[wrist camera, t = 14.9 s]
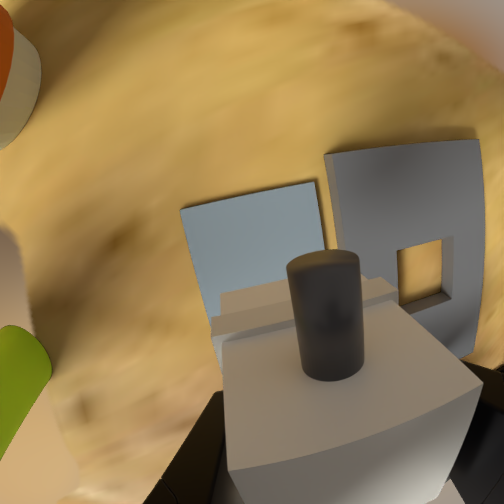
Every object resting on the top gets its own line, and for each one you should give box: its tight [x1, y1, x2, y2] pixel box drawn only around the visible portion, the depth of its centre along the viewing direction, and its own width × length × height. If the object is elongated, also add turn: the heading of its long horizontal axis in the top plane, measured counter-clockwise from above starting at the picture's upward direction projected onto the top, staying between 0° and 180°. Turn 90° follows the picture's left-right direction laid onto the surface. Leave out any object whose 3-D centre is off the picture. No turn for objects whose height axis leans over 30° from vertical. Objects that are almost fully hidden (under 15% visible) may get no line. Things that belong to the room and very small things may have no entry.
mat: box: [180, 182, 325, 326], centre depth 20 cm, size 8×8×1 cm
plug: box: [211, 249, 483, 504], centre depth 7 cm, size 5×6×6 cm
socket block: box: [324, 139, 485, 359], centre depth 18 cm, size 12×18×6 cm, turn 11°
